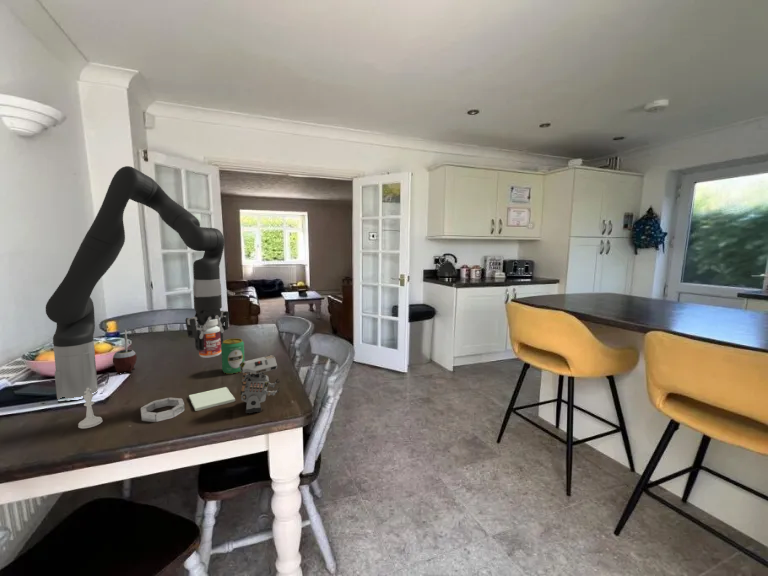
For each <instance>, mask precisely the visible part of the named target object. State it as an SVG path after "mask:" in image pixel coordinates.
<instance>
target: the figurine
mask: <svg viewBox="0 0 768 576" xmlns="http://www.w3.org/2000/svg"><path fill="white" fill-rule="evenodd" d="M239 366H240V370H241V371H242V372H241V373H242V379H241V385H242V386H241V389H240V397H241V399H240V400H241V402H244V403H246V407H245V414H247V413H249V414H253V413H255V412H257V413H260V412H262V406H261V403H264V402H265V401H266V400H267V399H266V398H267V396H268V397H269V396H276V393H280V389H281V387H278V388H277V389H276V390H272V391H271V390H268V387H271V388H275V386H276V385H277V384H279V383H280V379H279V378H277V379H276V380H275V382H273V383H271V382H270V380H269V379H270V378H269V375H266V374H264V373H266V372H270V371H273V370H277V369H278V364H277V360H276V357H275V356H274V355H272V354H271V355H270V354H269V355H266V356H262V357H256V358H254V359H249V360H245V361H244V362H242V363H241V364H239Z"/></svg>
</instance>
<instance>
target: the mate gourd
mask: <svg viewBox="0 0 768 576" xmlns="http://www.w3.org/2000/svg"><path fill="white" fill-rule="evenodd" d="M127 334H128V333H127V329H124V344H125V345H124V346H125V349H123V350H118V351H116V352H115V353H114V354H113V356H112V363H113V366H114V369H115V371H116V375H117V374H119V375H121V374H120V373H122V374H125V373H124V372H126V374H133V371H135V370H136V369H135V365H136V363H137V357H138V356H137V353H136V352H135V351H134V350H133V349H128V336H127Z"/></svg>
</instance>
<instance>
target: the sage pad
mask: <svg viewBox="0 0 768 576" xmlns="http://www.w3.org/2000/svg"><path fill="white" fill-rule="evenodd" d="M188 398H189V401H190V402H191V405H192V407H193V409H194V411H195V412H196V411H201V410H206V409H210V408H215V407H216V406H221V405H226V404H230V403H234V402H236V398H235V396H234V395H233V394H232V393H231V392H230V390H229V388H228V387H227V386H224V387H220V388H219V387H218V388H215V389H211V390H207V391H202V392H198V393H193V394H189V395H188Z"/></svg>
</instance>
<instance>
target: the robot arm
mask: <svg viewBox="0 0 768 576" xmlns="http://www.w3.org/2000/svg"><path fill="white" fill-rule="evenodd" d="M130 200H132V201H133V202H136V203H138V204H141V205H144V206H146V207H148V208H150V209H152V210H153V211H155V212H156V213H157V214H158V215H159V217H160V219H161V220H162V221H163V222H164V223H165V224H166V225H167V226H168V227H169V228H171V230H173V231H175V232H176V233H177V234H178V235H179V237H180V239H181V240H182V242H183V243H184V244H185V245H186V247H187V248H189V249H190V250H193V251H196V252H203V253H204V254H203V256H202V257H201V258H199V259H196V260H194V262H193V264H192V268H193V271H192V273H193V285H192V292H193V293H192V294H193V308H194V312H195V314H194V316H193V317H186V318H185V320H184V321H185V327H186V332H187V337H188V338H190V339H191V338H193V339H194V342H195V344H194V346H195V349H196V350H197V351H198V352H199V351H203V350H204V339H203V335H204V332H205V331H207V328H208V322H209V321H211V320H212V319H217V320H218V324H217V325H216V326H218V327H219V328H220V337H221V345H222V343H223V341H224V334H223V333H224V332H225V331H228V329H229V322H230V320H229V319H230V312H229V310H228V311H227V310H221V309H222V307H223V304H222V298H223V297H222V284H221V277H220V275H221V271H220V265H221V261H222V257H223V253H224V249H225V236H224V235H223V232H222V231H221V230H219V229H218V228H215V227H203V226H201V223H200V220H199V219H198V217H196V216H195V215H194V214H192V213H191V212H190V211H189V210H187V209H186V208H184V207H183V206H182V205H181V204H179V203H177V202H176V201H175V200H173V199H172V198H171V197H170V196H169V195H168V194H167V193H166V192H165V191H164V190H163V188H162V187H161V185H159V184H158V183H157V181H155V179H153V178H152V177H150V176H148V175H147V174H146V173H143V172H142V171H140V170H138V169H137V168H134V167H132V166H128V165H127V166H126V165H125V166H122V167H121V168H119V169H118V170H117V171H116V172H115V173H114V175H113V176H112V178H111V181H110V183H109V185H108V188H107V190H106V193H105V196H104V199H103V201H102V203H101V206H100V207H99V210H98V212H97V214H96V216H95V218H94V220H93V222H92V223H91V225H90V227H89V229H88V231H87V232H86V234H85V235H84V238H83V239H82V242H81V243H80V244H79V248H78V249H77V252H76V253H75V256H74V257H73V260H72V262H71V264H70V266H69V268H68V271H67V273H66V274H65V276H64V278H63V279H62V281H61V282H60V284H58V286H57V288H56V289H55V291H54V292H53V293H52V295H51V296H50V298H49V299H48V300H47V301H46V304H45V314H46V316H47V318H48V319H49V320H50V321H51V322H53V323H56V328H55V332H54V334H53V336H52V345H53V346H52V347H53V355H54V365H55V370H54V380H55V393H56V400H57V399H60V398H62V397H65V398H74V397H81V396H84V395H86V394H87V393H84V392H85V391H86V388H89V389H91V391H90V393H94V392H96V391H97V390H98V389H99V388H98V387H99V385H98V376H97V364H96V354H95V353H96V352H95V339H94V334H95V330H96V329H95V326H96V322H95V306H94V305H95V304H94V301H93V299H92V298H91V295H92V293H93V290H95V287H96V285H97V284H98V282H99V281H100V280H101V279H102V277H104V275H105V274H106V273H107V272H108V271H109V269H110V268H111V267H112V266H113V264H114V262H115V261H116V260H117V258H118V256H119V255H120V252H121V251H122V249H123V247H124V245H125V242H126V232H125V225H124V224H125V223H124V213H125V210H126V207H127V205H128V202H129V201H130ZM199 325H202V326H203V328H200V326H199ZM199 331H200V333H199ZM98 391H99V390H98Z"/></svg>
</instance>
